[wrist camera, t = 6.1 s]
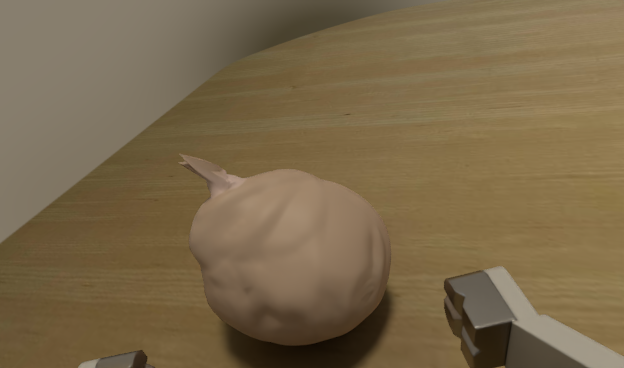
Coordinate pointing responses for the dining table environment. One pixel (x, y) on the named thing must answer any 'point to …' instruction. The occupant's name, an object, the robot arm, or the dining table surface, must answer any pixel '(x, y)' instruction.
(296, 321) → the garlic bulb
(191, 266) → the dining table surface
